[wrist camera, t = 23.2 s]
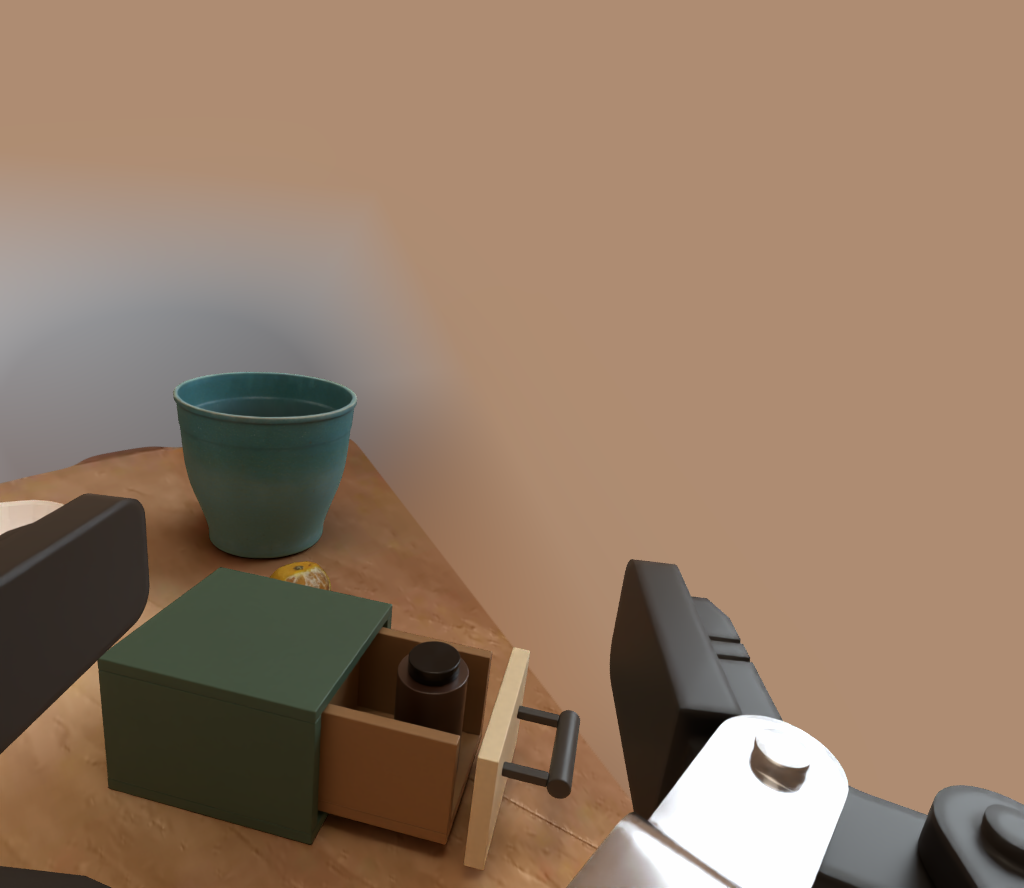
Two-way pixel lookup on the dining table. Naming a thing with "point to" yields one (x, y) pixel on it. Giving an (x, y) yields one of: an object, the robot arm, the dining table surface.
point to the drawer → (431, 749)
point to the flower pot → (264, 456)
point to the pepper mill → (432, 688)
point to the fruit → (303, 575)
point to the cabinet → (233, 698)
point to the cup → (24, 513)
